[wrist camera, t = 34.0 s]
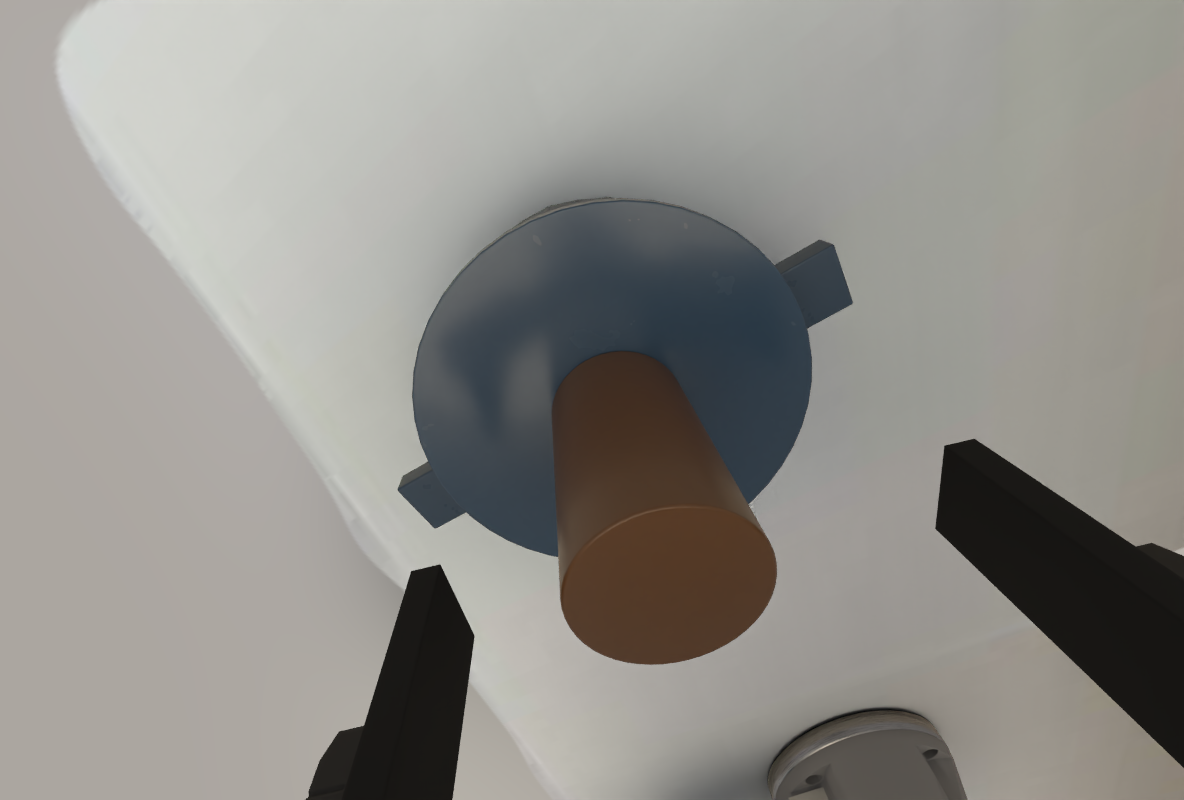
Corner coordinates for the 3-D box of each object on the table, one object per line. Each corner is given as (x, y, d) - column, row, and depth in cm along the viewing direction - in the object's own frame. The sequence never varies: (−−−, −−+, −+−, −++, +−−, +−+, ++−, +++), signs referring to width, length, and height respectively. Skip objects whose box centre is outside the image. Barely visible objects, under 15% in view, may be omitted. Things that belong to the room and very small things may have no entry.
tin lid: (843, 443, 21) (1039, 639, 13) (553, 587, 23) (561, 835, 15) (707, 101, 15) (912, 56, 7) (331, 340, 17) (140, 527, 9)
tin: (809, 350, 27) (900, 421, 20) (513, 507, 29) (506, 616, 23) (712, 100, 21) (792, 82, 14) (357, 324, 24) (287, 397, 17)
